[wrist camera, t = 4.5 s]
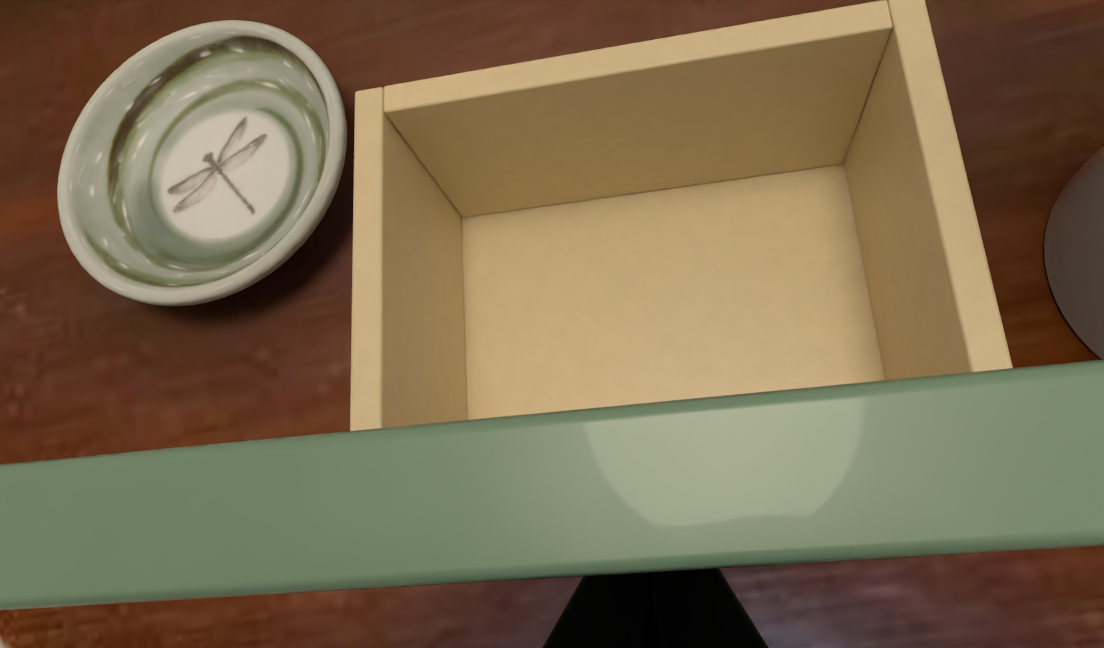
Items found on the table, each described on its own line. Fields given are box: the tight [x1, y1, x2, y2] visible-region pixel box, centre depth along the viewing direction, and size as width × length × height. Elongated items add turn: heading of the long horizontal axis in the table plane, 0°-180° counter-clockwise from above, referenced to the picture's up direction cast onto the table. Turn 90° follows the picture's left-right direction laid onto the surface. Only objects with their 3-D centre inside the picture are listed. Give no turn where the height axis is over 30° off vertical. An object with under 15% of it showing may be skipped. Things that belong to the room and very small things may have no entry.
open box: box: [350, 0, 1013, 431], centre depth 18 cm, size 9×12×7 cm
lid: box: [0, 360, 1104, 610], centre depth 9 cm, size 10×12×1 cm
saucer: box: [57, 20, 347, 306], centre depth 25 cm, size 10×10×2 cm
